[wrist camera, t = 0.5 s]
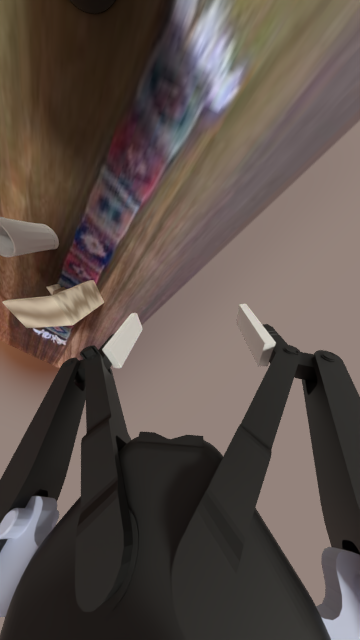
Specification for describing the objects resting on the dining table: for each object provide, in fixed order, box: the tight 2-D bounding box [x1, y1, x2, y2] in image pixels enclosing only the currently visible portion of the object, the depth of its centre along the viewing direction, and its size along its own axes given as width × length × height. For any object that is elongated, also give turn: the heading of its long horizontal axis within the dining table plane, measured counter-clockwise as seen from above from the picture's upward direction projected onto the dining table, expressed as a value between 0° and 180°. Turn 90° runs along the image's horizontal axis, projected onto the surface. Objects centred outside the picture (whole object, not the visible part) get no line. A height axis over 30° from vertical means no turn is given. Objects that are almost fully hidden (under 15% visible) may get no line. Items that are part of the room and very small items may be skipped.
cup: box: [0, 217, 59, 257], centre depth 33 cm, size 8×8×12 cm
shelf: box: [2, 280, 104, 328], centre depth 41 cm, size 8×16×15 cm, turn 97°
